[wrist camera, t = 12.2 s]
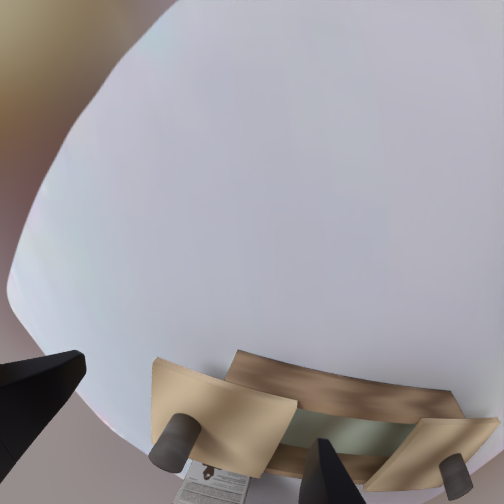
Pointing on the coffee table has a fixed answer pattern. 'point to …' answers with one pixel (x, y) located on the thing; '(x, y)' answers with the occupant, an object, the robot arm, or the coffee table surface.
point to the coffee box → (212, 486)
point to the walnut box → (340, 413)
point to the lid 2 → (434, 457)
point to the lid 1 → (213, 421)
